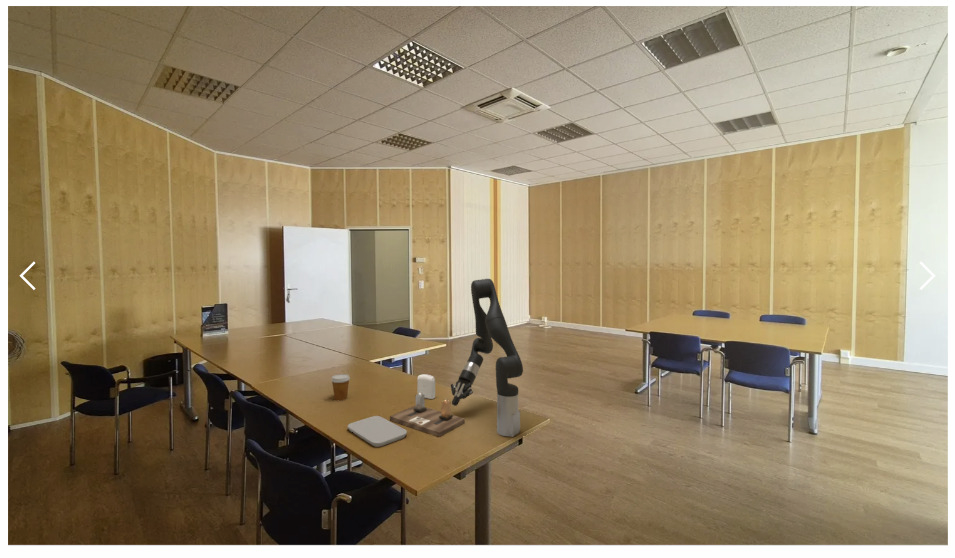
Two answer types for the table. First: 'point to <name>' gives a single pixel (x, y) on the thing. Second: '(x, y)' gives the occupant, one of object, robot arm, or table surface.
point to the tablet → (377, 431)
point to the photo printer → (426, 385)
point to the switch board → (427, 421)
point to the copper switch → (445, 410)
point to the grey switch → (420, 402)
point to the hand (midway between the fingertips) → (453, 404)
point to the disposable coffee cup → (340, 386)
